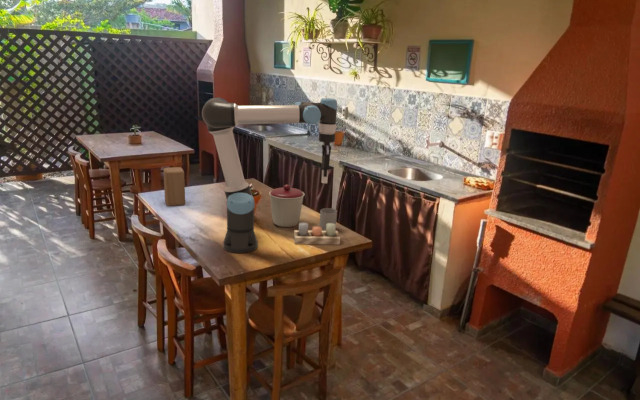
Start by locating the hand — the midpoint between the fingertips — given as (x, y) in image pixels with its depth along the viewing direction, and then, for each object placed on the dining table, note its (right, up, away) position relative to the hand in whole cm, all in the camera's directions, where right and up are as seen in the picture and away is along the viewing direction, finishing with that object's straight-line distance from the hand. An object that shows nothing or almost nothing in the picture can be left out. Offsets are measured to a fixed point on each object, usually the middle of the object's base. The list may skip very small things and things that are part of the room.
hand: (324, 182), depth 213 cm
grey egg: (-10, -24, -1) cm, 26 cm away
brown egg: (-4, -26, 0) cm, 26 cm away
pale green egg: (+3, -24, 0) cm, 25 cm away
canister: (-20, -21, +20) cm, 35 cm away
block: (-84, -10, +43) cm, 95 cm away
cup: (+2, -23, +16) cm, 28 cm away
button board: (-4, -27, +1) cm, 27 cm away
